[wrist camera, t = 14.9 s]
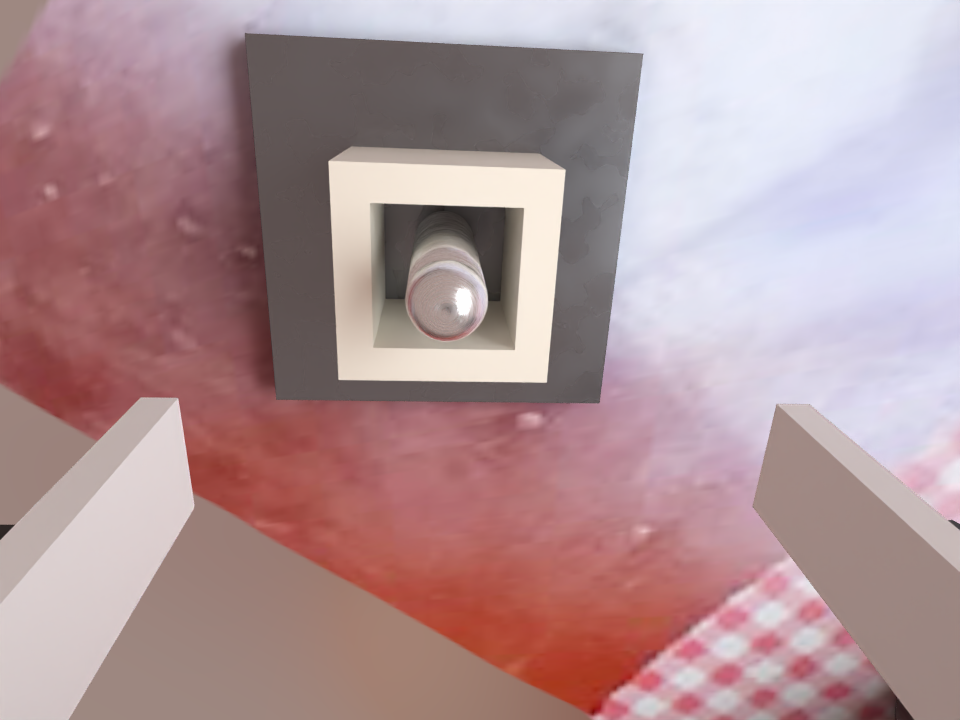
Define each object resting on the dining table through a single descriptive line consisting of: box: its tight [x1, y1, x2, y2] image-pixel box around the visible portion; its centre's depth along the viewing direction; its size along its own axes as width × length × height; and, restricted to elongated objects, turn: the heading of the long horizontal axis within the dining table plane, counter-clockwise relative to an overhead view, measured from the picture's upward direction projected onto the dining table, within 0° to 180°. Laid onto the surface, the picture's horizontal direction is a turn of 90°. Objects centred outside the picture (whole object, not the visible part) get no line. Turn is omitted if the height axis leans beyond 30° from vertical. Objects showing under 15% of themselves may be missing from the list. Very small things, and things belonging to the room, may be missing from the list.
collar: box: [328, 146, 566, 383], centre depth 30 cm, size 9×9×7 cm
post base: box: [245, 33, 643, 403], centre depth 28 cm, size 18×18×13 cm
